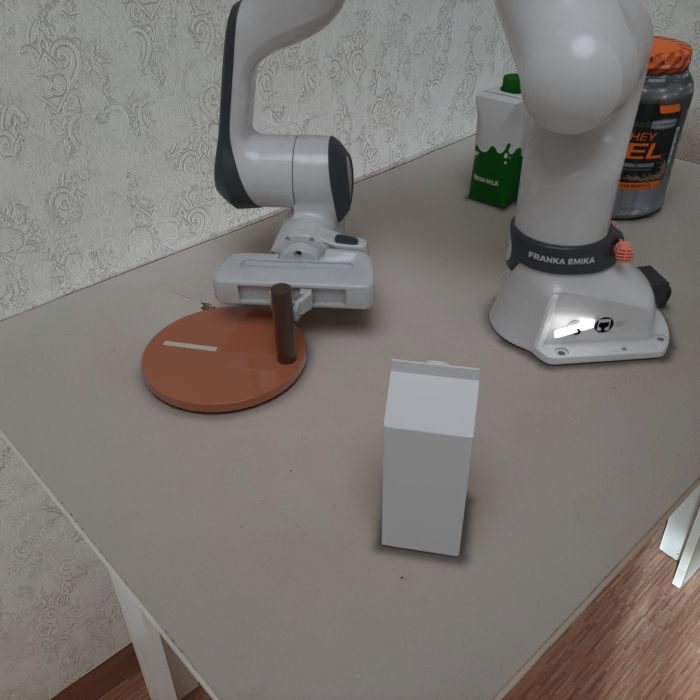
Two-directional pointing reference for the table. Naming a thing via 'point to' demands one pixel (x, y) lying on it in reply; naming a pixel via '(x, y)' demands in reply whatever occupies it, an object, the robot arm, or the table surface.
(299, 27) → the robot arm
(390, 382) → the milk carton
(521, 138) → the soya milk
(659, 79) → the supplement tub
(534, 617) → the table surface
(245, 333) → the orange disc with rod
